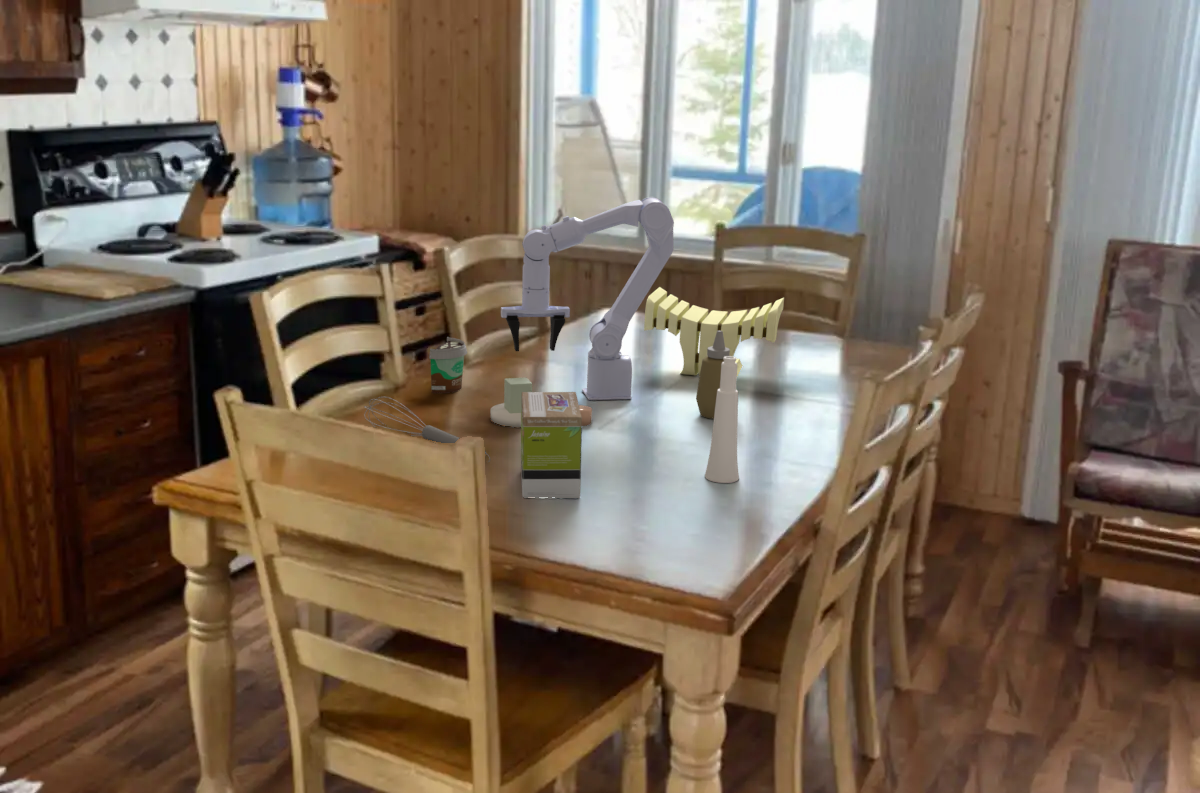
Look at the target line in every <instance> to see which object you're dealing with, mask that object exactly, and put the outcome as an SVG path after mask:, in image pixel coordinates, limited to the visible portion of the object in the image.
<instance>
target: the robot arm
mask: <svg viewBox="0 0 1200 793" xmlns="http://www.w3.org/2000/svg"><path fill="white" fill-rule="evenodd" d="M639 223H640V225H641V227H643V229H644V232H645V235H646V240H647V243H648V248H647V249H646V251H645V252H644V253H643V255H642V258H641V259H640V260H639V261H638V264H637V266H636V267H635V269H634V270H633V272H632V273H631V275H630V277H629V278H628V280H627V282H626V283H625V285H624V287H623V288H622V289H621V291H620V293H619V295H618V296H617V298H616V300H615V301H614V303H613V304H612V306H611V308H610V309H609V310H608V311H606V312H605V313H604V315H603V316H602V318H601V319H600V320H599V321H597V322H596V323H594V324H593V325H592V327H591V328H590V330H589V334H588V337H589V341H590V343H591V349H590V350H589V351H588V352H587V374H586V376H587V377H586V387H584V388H583V387H582V389H581V391H582V392H583V393H584V395H585V396H586V398H587V399H588V400H589V401H598V400H599V401H601V400H603V401H604V400H605V401H606V400H632V398H633V396H632V381H633V380H632V378H633V365H632V359H631V356H630V355H625V354H624V355H623V354H622V352H621V349H622V347H623V346H622V344H623V339H624V336H625V335H626V333H627V331H628V328H629V323H630V322H631V320H632V319H633V317H634V315H635V313H636V312H637V311H638V309H639V307H640V305H641V304H642V302H644V299H645V297H646V296H647V294H648V293H649V292H650V290H651V288H652V286H653V285H654V283H655V281H656V280H657V279H658V277H659V275H660V274H661V272H662V270H663V269H664V267H665V265H666V263H667V262H668V261H669V259H670V257H671V256H672V255H673V251H674V247H675V246H674V227H675V222H674V219H673V215H672V213H671V210H670V209H669V208H668V206H667V205H666V204H665V203H664V202H663V201H662V200H661V199H659V198H657V197H655V196H647V197H644V198H643V199H636V200H632V201H629V202H626V203H622V204H621V205H618V206H615V207H612V208H610V209H608V210H605V211H603V212H600V213H597V214H595V215H592V216H589V217H587V218H585V219H580V218H578V217H576V216H573V217H570V216H569V215H566V216H563V217H562V220H561V221H558V222H555V223H553V224H549V225H546V224H543V225H540V227H541V229H535V228H534V229H531V230H529V231H528V232H527V233H526V234H525V235H524V237H523V240H522V248H523V251H524V254H523V259H522V260H523V265H522V280H521V281H522V288H521V289H522V290H521V291H522V295H521V296H522V297H521V298H522V299H521V300H522V302H521V305H515V306H501V307H500V317H501V318H502V319H505V321H506V322H507V325H508V327H509V331H510V333H511V336H512V341H513V347H514V351H515V352H520V326H521V323H520V320H519V318H533V317H534V318H546V317H547V318H549V320H550V321H549V322H550V337H549V349H550V351H553V352H554V351H555V350H556V344H557V340H558V338H559V335H560V333H561V331H562V329H563V327H564V326H565V323H566V318H570V316H571V308H570V307H569V306H557V305H556V306H555V305H550V277H551V274H550V273H551V272H550V270H551V267H550V264H549V263H550V255H551V253H558V252H561V251H564V250H567V249H569V248H572V247H574V246H578V245H581V244H583V243H585V241H586V238H587V236H588V235H591V234H594V233H597V232H600V231H604V230H607V229H610V228H613V227H614V228H615V227H617V226H620V225H628V226H633V227H635V228H637V227H639Z"/></svg>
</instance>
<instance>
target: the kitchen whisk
mask: <svg viewBox="0 0 1200 793" xmlns="http://www.w3.org/2000/svg"><path fill="white" fill-rule="evenodd" d="M381 398H383V396H379V397H376V398H372V399H369V402H368V404H369V406H364V408H365V409H366V410H365V412H364V414H363V415H364V418H365V420H366V421H368V422H369V423H370V424H371V425H372V426H373V427H374V428H375V427H376V426H379V427H382V428H384V429H389V430H394V431H397V432H403V433H405V432H407V433H406V434H410V433H411V434H410V435H411V436H410V437H422V439H424V440H427V439H428V440H427V441H429V440H432V441H436V442H441V443H455V442H456V441H457V440H458V439H459V438H460V437H459V436H456V435H454V434H451V433H449V432H447V431H444V430H441V429H439V428H438V427H435V426H432V425H429V424H428V425H426V424H425V422H423V421H422V419H421V418H419V417H418V416H417V415H416V414H415V413H414V412H413V411H412V410H410V409H409V408H408V407H406V406H405V405H404V404H403V403H401V402H400V401H398V400H396V399H393V398H391V397H389V396H384V398H387V399H390V400H392V401H394V402H396V403H398V404H396V403H392V402H389V403H388V402H386V401H383V400H380V399H381ZM371 401H372V402H371ZM375 401H379V402H378V403H375V404H374V402H375ZM380 404H386V405H388V406H389V407H391V408H394V409H395V410H397V411H399V412H400V413H401V414H403V415H404V416H406V417H408V418H409V419H411V420H412V421H414V422H415V423H416V424H418V425H419V426H418V425H416V424H415V423H411V422H410V421H407V420H405V419H403V418H401V417H398V416H396V415H393V414H391V413H389V412H386V411H383V410H380V409H377V408H375V406H376V405H380ZM391 404H392V405H391ZM393 405H394V406H393ZM395 406H397V407H399V408H402V409H404V410H405V411H407V412H409V413H410V414H411V415H412V416H414V417H415V418H416V419H417V420H419V421H420V422H421V423H422V424H423V425H424V426H423V425H422V424H421V423H419V422H418V421H416V420H415V419H414V418H412V417H411V416H409V415H408V414H406V413H405V412H402V411H401V410H400V409H399V408H397V407H395ZM402 406H403V407H402ZM368 410H369V411H368ZM375 410H376V411H375ZM377 411H378V412H377ZM367 412H368V414H367V415H368V418H367V417H366V413H367ZM379 412H382V413H384V414H388V415H390V416H392V417H394V418H392V417H389V416H387V415H384V414H382V413H379ZM370 413H372V415H373V416H374V417H375V419H376V420H378V421H379V422H380V423H381V424H382V425H379V424H376V423H374V422H372V421H371V418H370ZM375 413H376V414H379V415H381V416H383V417H386V418H388V419H391V420H393V421H396V422H399V423H400V424H403V425H407V426H409V427H411V428H414V429H417V430H419V431H422V432H421V433H420V432H413V431H406V430H400V429H397V428H390V427H388V426H387V427H386V426H383V425H384V424H385V423H383V421H381V420H380V419H379V418H377V416H376V415H375ZM395 418H397V419H400V420H402V421H400V420H397V419H395ZM403 421H404V422H406V423H404V422H403ZM415 426H416V427H415ZM420 426H421V427H420ZM485 454H486V456H488V458H489V460H487V461H488V462H487V463H489V462H491V457H490V455H489V454H488V453H487V451H486V450H485Z"/></svg>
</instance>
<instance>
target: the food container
mask: <svg viewBox="0 0 1200 793" xmlns="http://www.w3.org/2000/svg"><path fill="white" fill-rule="evenodd" d="M467 354H468V350H467V346H466V343H465V341H463V340H462V339H459V338H455V337H449V336H447V337H446V341H445V343H443V344H439V345H438V346H437V347H436V348H430V349H429V357H428V358H429V360H430V379H431V380H430V381H431V382H430V384H431V394H450V392H452V393H455V392H456V393H457V392H459V391H460V389H461V390H462V385H463V377H464V376H463V375H464V374H463V373H464V364H465V363H464V360H465V356H466V355H467ZM458 390H459V391H458Z"/></svg>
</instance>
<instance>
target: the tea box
mask: <svg viewBox="0 0 1200 793" xmlns="http://www.w3.org/2000/svg"><path fill="white" fill-rule="evenodd" d="M578 400H579V399H578V395H577V392H576V391H539V392H538V391H535V392H534V391H532V392H522V396H521V428H520V466H521V467H520V470H521V472H520V474H521V495H522V498H523V497H524V498H528V497H535V498H539V497H548V498H552V497H555V498H578V499H580V498H581V487H582V486H581V484H582V482H581V481H582V441H583V440H582V437H583V426H582V416H581V413H580V408H579V405H580V404H579V401H578Z"/></svg>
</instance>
